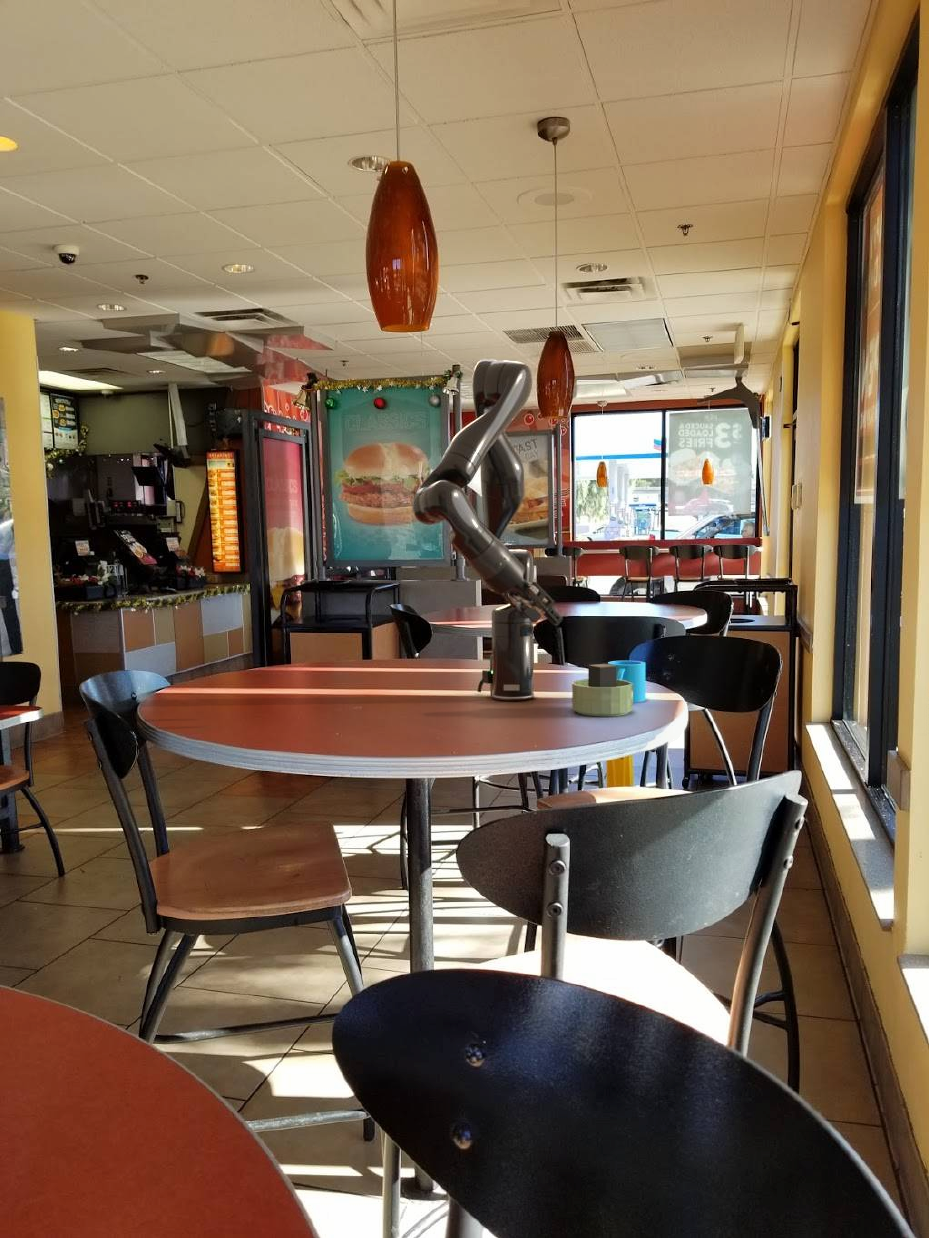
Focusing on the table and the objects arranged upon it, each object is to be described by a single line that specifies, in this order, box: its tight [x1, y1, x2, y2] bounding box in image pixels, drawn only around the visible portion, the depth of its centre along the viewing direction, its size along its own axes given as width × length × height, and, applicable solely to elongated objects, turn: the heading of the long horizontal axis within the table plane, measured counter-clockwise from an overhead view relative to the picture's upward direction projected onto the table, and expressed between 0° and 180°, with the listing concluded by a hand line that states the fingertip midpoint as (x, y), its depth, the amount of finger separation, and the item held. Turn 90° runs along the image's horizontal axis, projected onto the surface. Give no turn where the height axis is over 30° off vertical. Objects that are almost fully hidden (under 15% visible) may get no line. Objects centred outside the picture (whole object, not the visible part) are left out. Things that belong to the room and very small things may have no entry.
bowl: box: [571, 678, 634, 718], centre depth 190 cm, size 12×12×6 cm
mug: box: [607, 660, 646, 704], centre depth 202 cm, size 12×8×8 cm
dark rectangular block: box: [587, 663, 617, 687], centre depth 189 cm, size 4×4×9 cm
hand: (548, 621), depth 182 cm, fingers open, 8 cm apart
